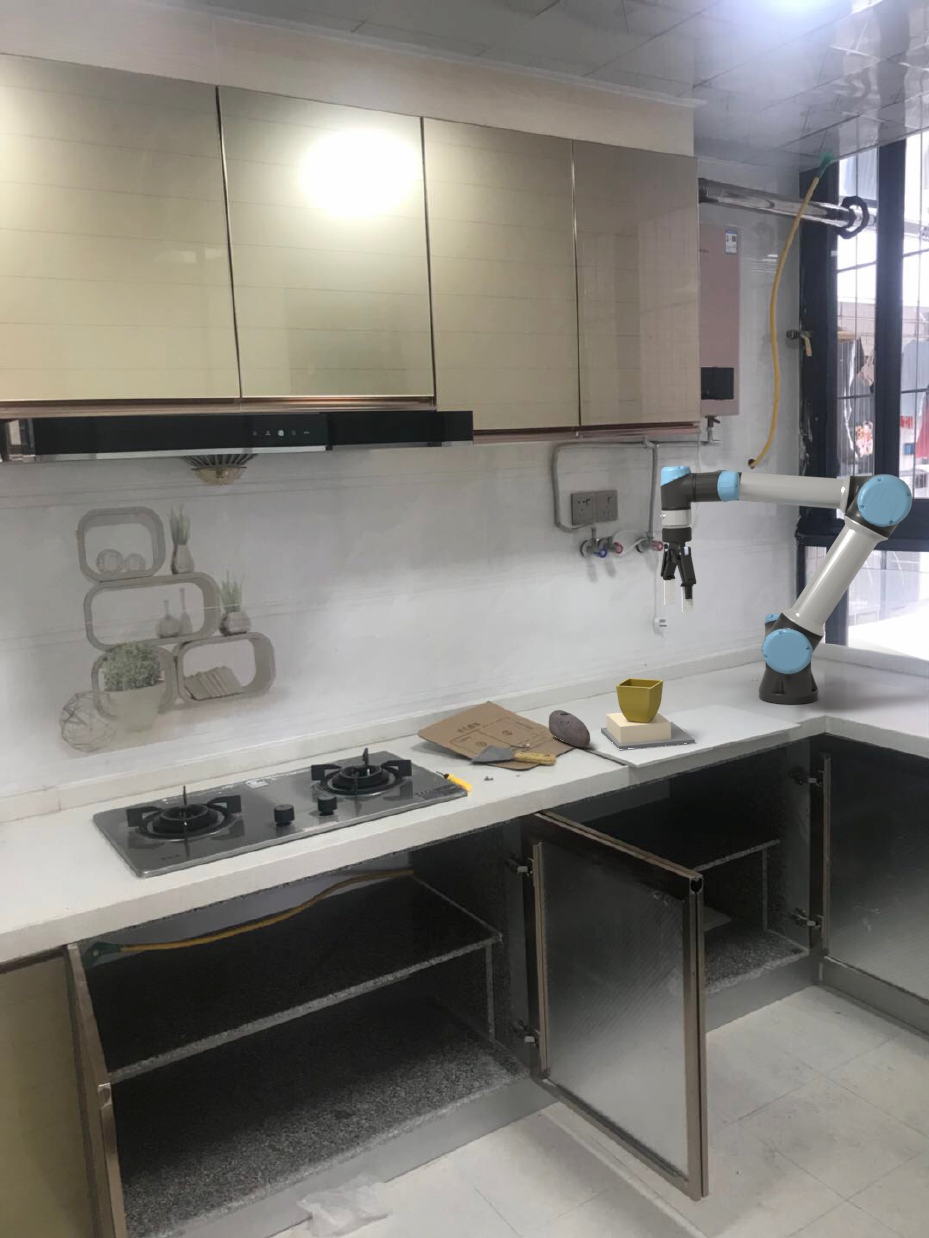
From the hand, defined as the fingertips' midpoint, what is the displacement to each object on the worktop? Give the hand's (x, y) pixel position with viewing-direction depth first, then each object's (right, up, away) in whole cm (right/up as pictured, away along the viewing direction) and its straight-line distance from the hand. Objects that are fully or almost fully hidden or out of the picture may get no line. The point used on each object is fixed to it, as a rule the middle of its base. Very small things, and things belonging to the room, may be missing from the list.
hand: (678, 608), depth 248 cm
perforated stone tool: (-30, -33, -22) cm, 50 cm away
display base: (-12, -31, -21) cm, 40 cm away
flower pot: (-14, -27, -24) cm, 39 cm away
